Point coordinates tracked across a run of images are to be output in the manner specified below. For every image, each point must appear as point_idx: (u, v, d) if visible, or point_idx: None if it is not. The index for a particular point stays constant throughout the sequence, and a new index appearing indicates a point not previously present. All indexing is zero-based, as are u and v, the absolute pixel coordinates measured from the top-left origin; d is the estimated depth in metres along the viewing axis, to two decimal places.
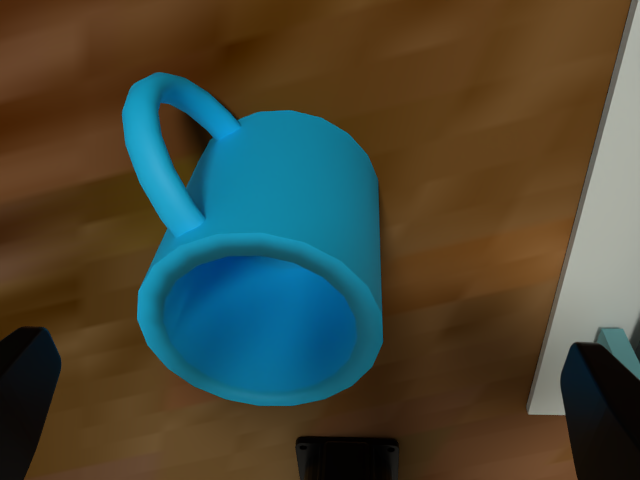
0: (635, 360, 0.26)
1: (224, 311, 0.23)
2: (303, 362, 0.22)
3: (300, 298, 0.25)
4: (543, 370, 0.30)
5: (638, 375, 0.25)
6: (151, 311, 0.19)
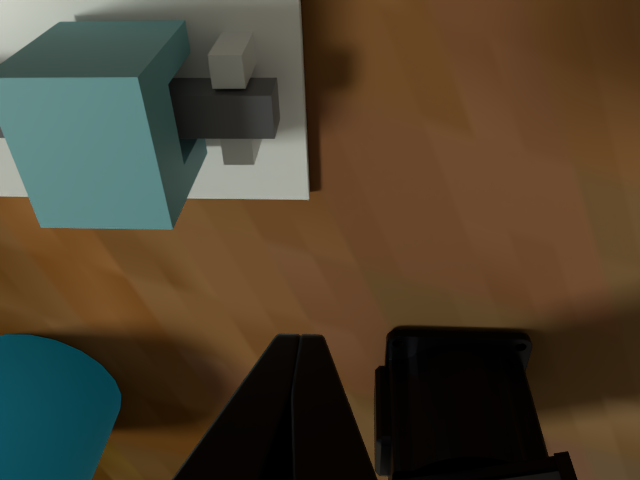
0: None
1: None
2: None
3: None
4: (209, 194, 0.22)
5: None
6: None
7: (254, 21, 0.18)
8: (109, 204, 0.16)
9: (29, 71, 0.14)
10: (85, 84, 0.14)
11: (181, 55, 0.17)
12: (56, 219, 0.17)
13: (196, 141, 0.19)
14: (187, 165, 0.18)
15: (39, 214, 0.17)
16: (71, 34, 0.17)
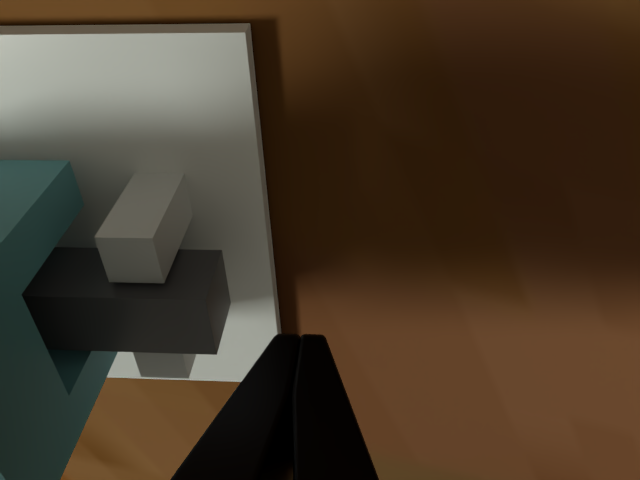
0: None
1: None
2: None
3: None
4: (137, 373, 0.15)
5: None
6: None
7: (184, 159, 0.11)
8: None
9: None
10: None
11: (59, 223, 0.10)
12: None
13: None
14: (78, 388, 0.11)
15: None
16: None
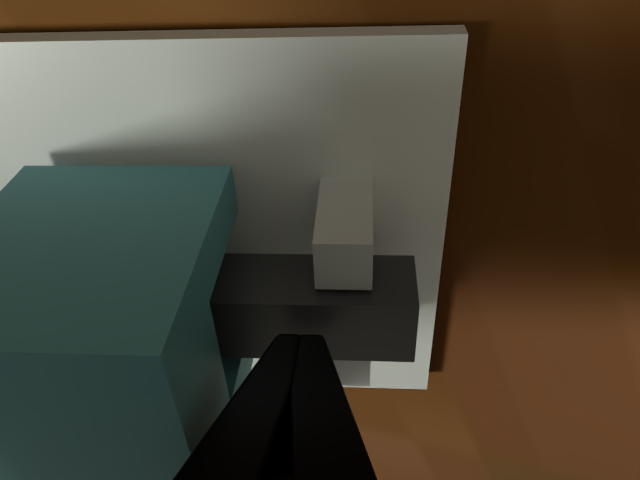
0: None
1: None
2: None
3: None
4: None
5: None
6: None
7: (375, 163, 0.11)
8: None
9: None
10: (57, 362, 0.07)
11: (227, 229, 0.10)
12: None
13: None
14: None
15: None
16: (40, 203, 0.10)
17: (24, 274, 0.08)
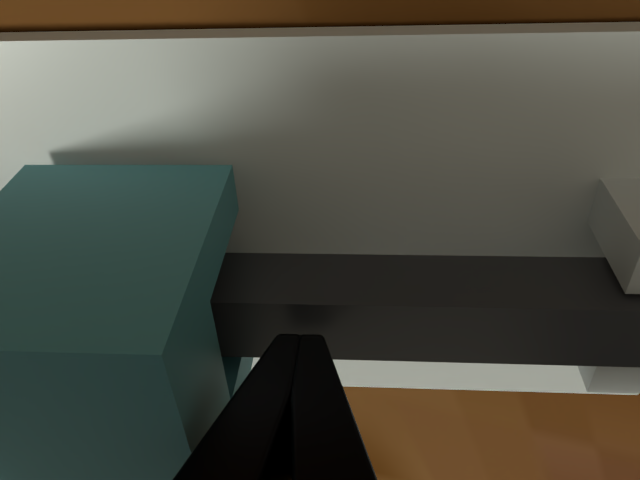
0: None
1: None
2: None
3: None
4: (483, 385, 0.14)
5: None
6: None
7: None
8: None
9: None
10: (58, 361, 0.07)
11: (227, 228, 0.10)
12: None
13: None
14: None
15: None
16: (40, 202, 0.10)
17: (25, 273, 0.08)
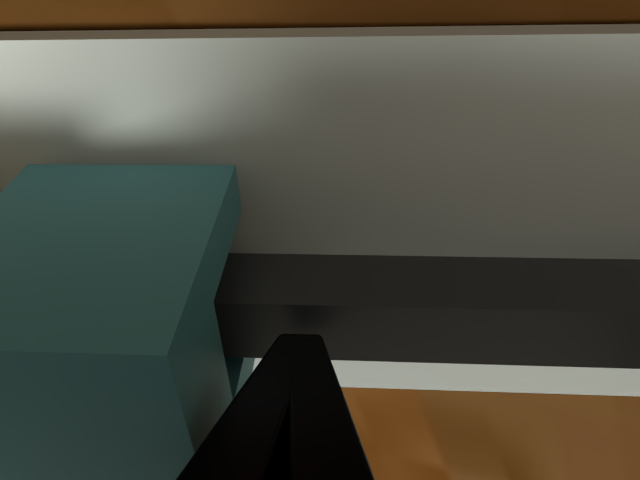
0: None
1: None
2: None
3: None
4: None
5: None
6: None
7: None
8: None
9: None
10: (63, 361, 0.07)
11: (230, 228, 0.10)
12: None
13: None
14: None
15: None
16: (43, 201, 0.10)
17: (29, 273, 0.08)
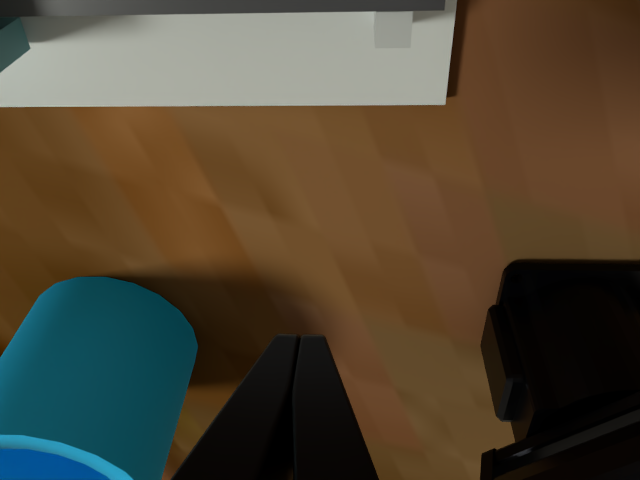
0: None
1: None
2: None
3: None
4: (332, 100, 0.19)
5: None
6: None
7: None
8: None
9: None
10: None
11: None
12: None
13: (4, 28, 0.17)
14: None
15: None
16: None
17: None
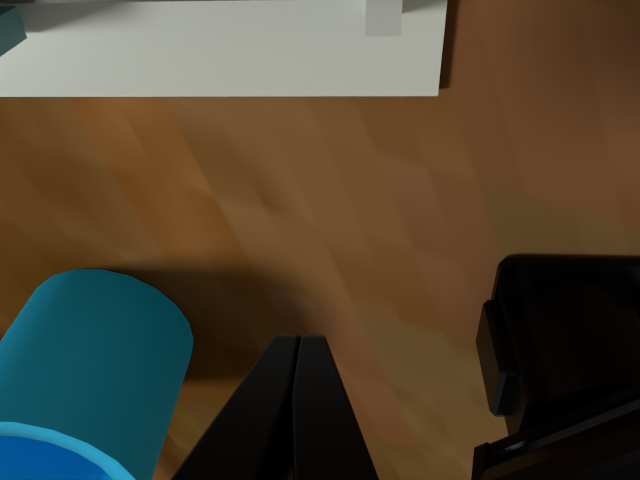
0: None
1: None
2: None
3: None
4: (325, 90, 0.20)
5: None
6: None
7: None
8: None
9: None
10: None
11: None
12: None
13: (1, 16, 0.17)
14: None
15: None
16: None
17: None
